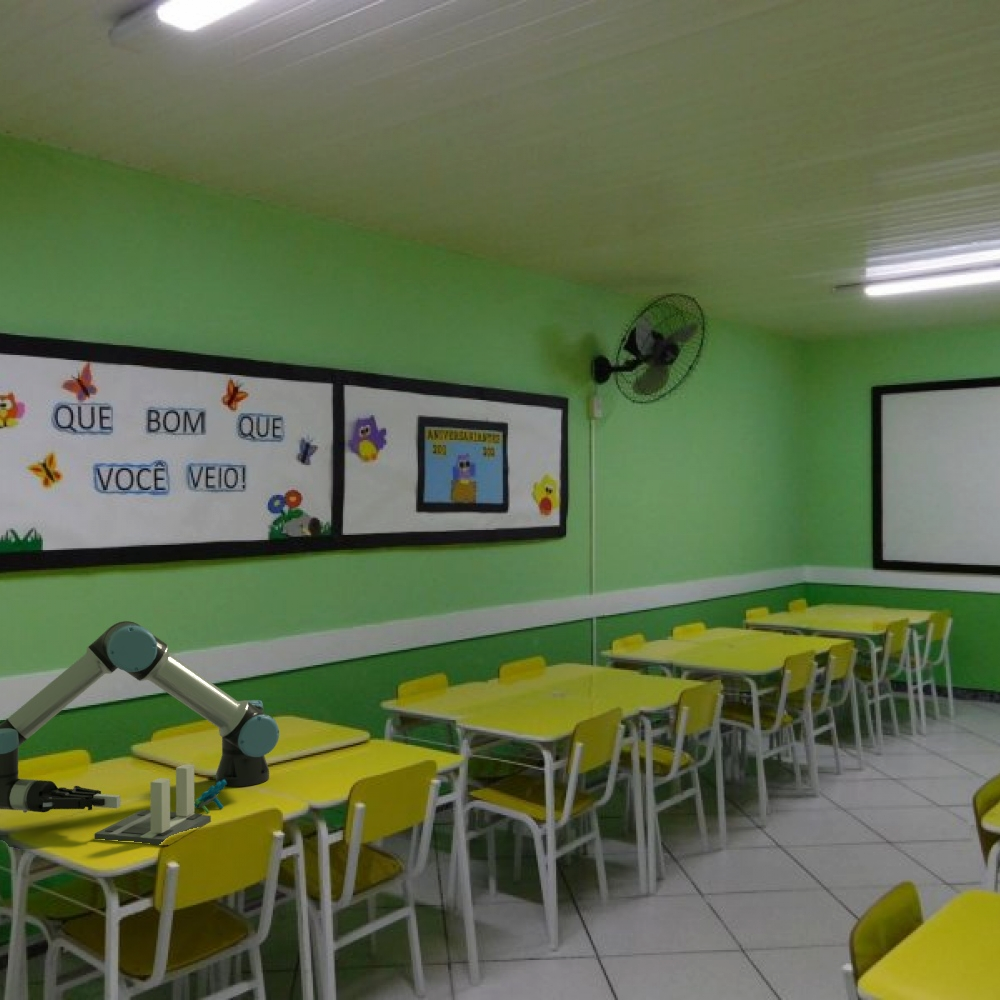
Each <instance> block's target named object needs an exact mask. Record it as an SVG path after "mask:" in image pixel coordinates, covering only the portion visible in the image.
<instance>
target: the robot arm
mask: <svg viewBox="0 0 1000 1000" xmlns="http://www.w3.org/2000/svg"><path fill="white" fill-rule="evenodd" d="M118 669H119V670H122V671H124V672H126V674H128V675H130V676H132V677H133V678H134V679H136V680H137V681H139V682H143V681H149V682H151V683H153V684H154V685H155V686H157V687H158V688H160V689H161V690H163V691H164V692H165V693H167V694H169V695H170V696H171V697H173V698H174V699H176V700H177V701H179V702H180V703H182V704H183V705H184V706H186V707H188V708H189V709H191V710H192V711H194V712H195V713H196V714H198V715H200V716H201V717H202V718H204V719H205V720H206V721H208V722H209V723H211V724H212V725H214V726H216V727H217V728H218V730H219V731H218V732H219V736H220V737H221V741H222V742H221V747H222V748H221V751H222V752H221V756H220V757H221V758H220V760H219V764H218V767H217V770H216V773H215V782H216V783H217V782H219V781H220V782H221V781H222V780H224V779H225V781H226V783H227V784H226V785H228V786H227V787H247V786H255V785H260V784H262V783H264V782H267V781H269V780H270V769H269V766H268V762H267V760H266V757H265V756H266V755H268V754H269V753H271V752H272V751H273V750H274V749H275V747H276V746H277V744H278V742H279V738H280V728H279V724H278V723H277V721H276V720H275V719H274V718H273V717H272V716H270V715H267V714H266V713H265V712H264V705H263V704H264V703H263V701H262V700H260V699H249V700H247V699H246V700H245V699H244V700H239V701H238V700H236V699H235V698H234V697H233V696H231V695H229V694H228V693H227V692H225V691H224V690H222V689H221V688H220V687H217V686H216V685H215V684H213V683H212V682H211V681H209V680H208V679H206V678H205V677H203V676H202V675H201V674H199V673H197V672H196V671H195V670H193V668H191V667H190V666H188V665H186V664H185V663H184V662H183V661H181V660H180V659H178V658H177V657H175V656H174V655H172V654H171V653H170V651H169V645H168V644H166V642H164V641H162V640H161V639H160V638H158V637H157V636H156V635H154V634H153V633H152V632H151V630H148V629H147V628H145V627H144V626H141V625H140V624H138V623H137V622H134V621H131V620H130V621H126V620H124V621H119V622H117V623H114V624H113V625H111V626H110V627H109V628H107V629H106V630H105V631H104V632H103V633H102V634H101V635H100V636H98V637H97V639H95V640H94V641H93V642H92V643H91V644H89V645H88V646H87V647H86V652H85V654H83V655H82V656H81V657H80V658H78V659H77V660H76V661H75V662H74V663H73V664H71V665H70V666H69V667H67V668H66V670H64V671H63V672H62V673H61V674H59V675H58V676H57V677H56V678H55V679H54V680H52V681H51V682H49V684H47V685H46V686H45V687H44V688H42V689H41V690H40V691H38V693H36V694H35V695H34V696H33V697H31V698H30V699H29V700H28V701H26V703H24V704H23V705H22V706H21V707H19V708H18V709H17V710H15V711H14V712H13V713H12V714H11V715H10V716H8V718H6V719H5V720H4V721H2V722H1V723H0V810H11V811H22V812H23V813H24V814H25V813H27V812H35V813H47V812H49V811H51V810H84V809H86V808H87V810H88V811H92V810H93V807H95V808H108V809H118V808H121V806H122V805H121V804H122V803H121V795H117V794H104V793H102V791H101V790H99V789H92V788H86V787H81V786H79V785H75V786H73V788H67V787H57V785H56V783H55V782H53V781H51V780H43V779H41V780H40V779H39V780H38V779H30V778H29V779H28V778H19V747H21V745H22V744H24V743H25V742H26V741H27V740H28V739H29V738H31V736H33V735H34V734H35V733H36V732H37V731H39V730H40V729H41V728H42V727H44V726H45V725H46V724H47V723H48V722H50V721H51V720H52V719H53V718H54V717H55V716H57V714H59V713H60V712H61V711H62V710H64V709H65V708H66V707H68V705H70V704H71V703H72V702H73V701H74V700H75V699H77V698H78V697H79V696H81V694H83V693H84V692H85V691H86V690H88V689H89V688H90V687H92V685H94V684H95V683H96V682H97V681H98V680H100V678H101V677H104V675H105V674H113V673H114V672H115V671H116V670H118ZM216 783H215V784H216Z"/></svg>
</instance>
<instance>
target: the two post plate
mask: <svg viewBox="0 0 1000 1000" xmlns="http://www.w3.org/2000/svg"><path fill="white" fill-rule="evenodd" d="M175 794H176V795H175V803H176V804H175V811H170V829H169V830H167V831H165V832H163V833H153V832H151V809H145V810H144V809H141V810H139V811H137V812H135V813H133V814H131V815H129V816H126V817H124V818H123V819H121V820H118V821H117V822H115V823H112V824H111V825H109V826H106V827H105V828H102V829H101V830H99V831H97V832H95V833H94V835H93V836H94V837H93V838H94V839H105V840H118V841H134V842H142V843H150V844H156V845H155V846H160V845H159V844H161V842H163V841H164V840H165V839H166V838H168V837H169V836H171V835H174V834H177V833H179V832H183V831H187V830H189V829H193V828H197V827H200V828H202V827H204V826H205V825H207V824H209V823H211V822H212V820H211V819H212V816H211V815H208V814H207V815H206V814H203V813H195V805H194V803H195V802H194V800H195V765H194V764H182V765H179V766H177V767H176V768H175ZM203 825H204V826H203ZM201 826H202V827H201Z"/></svg>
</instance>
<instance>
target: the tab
mask: <svg viewBox="0 0 1000 1000" xmlns="http://www.w3.org/2000/svg"><path fill="white" fill-rule="evenodd" d="M150 810H151V832H153V833H163V832H165V831H167V830H169V829H170V812H171V778H160V777H158V778H156V779H154V780H152V781H150Z"/></svg>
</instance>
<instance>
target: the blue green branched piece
mask: <svg viewBox="0 0 1000 1000" xmlns="http://www.w3.org/2000/svg"><path fill="white" fill-rule="evenodd" d="M226 784H227V783H226V781H225V779H224V780H222V781H221V782H220V781H219V782H217V783H215V785H211V786H210V787H208V790H207V791H204V792H202V794H201V796H199V797H198V798H196V799H195V798H194V808H196V809H203V811H204V812H205V813H206V814H207V815H208V814H209V813H210V811H209V809H208V808H207V805H209V804H210V803H212V802H214V804H216V805H217V807H218V808H219V809H220V810H221V809H223V808H224V805H223V804H222V803H221V801H220V800H219V799H218V795H219V794H220V791H222V790H224V789H225V787H226V786H225V785H226Z"/></svg>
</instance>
